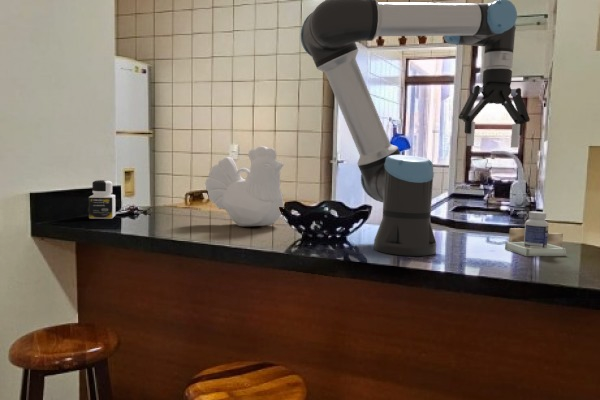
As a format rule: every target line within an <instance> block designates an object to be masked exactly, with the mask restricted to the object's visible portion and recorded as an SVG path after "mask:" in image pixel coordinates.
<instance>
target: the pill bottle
mask: <svg viewBox="0 0 600 400" xmlns="http://www.w3.org/2000/svg"><path fill="white" fill-rule="evenodd" d="M528 217H529V219H527V220H526V221H525V223H524V225H525V226H524V228H525V236H524V247H525V248H547V238H548V233H549V222H548V221H546V219H547V212H544V211H535V210H534V211H528Z"/></svg>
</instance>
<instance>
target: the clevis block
mask: <svg viewBox="0 0 600 400" xmlns="http://www.w3.org/2000/svg"><path fill="white" fill-rule="evenodd" d="M508 234H509V235H508V242H524V236H525V227H524V228H520V227H517V228H516V227H514V228H512V227H511V228H509V232H508ZM563 236H564V233H561V232H548V238H547V244H551V245H554V246H558V247H562V248H563V240H564V238H563Z"/></svg>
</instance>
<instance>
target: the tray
mask: <svg viewBox="0 0 600 400" xmlns="http://www.w3.org/2000/svg"><path fill="white" fill-rule="evenodd" d="M504 250H507V251H510V252H512V253H515V254H518V255H522V256H525V257H566V254H567V248H565V247H563V246H562V247H558V246H554V245H551V244H547V248H525V247H524V242H509V241H507V242H505V243H504Z"/></svg>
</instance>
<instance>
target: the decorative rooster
mask: <svg viewBox="0 0 600 400" xmlns="http://www.w3.org/2000/svg"><path fill="white" fill-rule="evenodd" d="M248 158H249V160H250V162H251V164H250V168H247V167H240V168H239V169H238V166H237V164H236V162H235V160H234V158H233V157H232V156H225V157H223V158H221V159H219V161H218V163H216V164H214V165H213V166H212V167H211V168H210V172H209V173H208V177H207V178H206V180H205V182H204V183H205V190H206V191H207V195H208V199H209V201H210V202H211V203H213V204H214V205H215V207H216V208H218V209H219V210H224V211H226V213H227V215H228V216H229V217H230V218H231V219H232V221H233V222H234V223H235V224H236V225H237V226H239V227H259V226H260V227H261V226H270V225H273V224H275V223H276V222H278V220H279V219H280V217H281V216H282V214H281V213H280V210H279V207H283V206H285V205H284V196H283V194H282V190H281V189H282V188H281V169H282V167H284V165H285V164H284V162H281V161H279V160H277V150H276V149H275V148H273V147H267V146H265V145H259V146H257V147H256V148H255V147H254V148H251V149H249V151H248ZM243 172H245V174H246V178H243V177H242V173H243Z"/></svg>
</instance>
